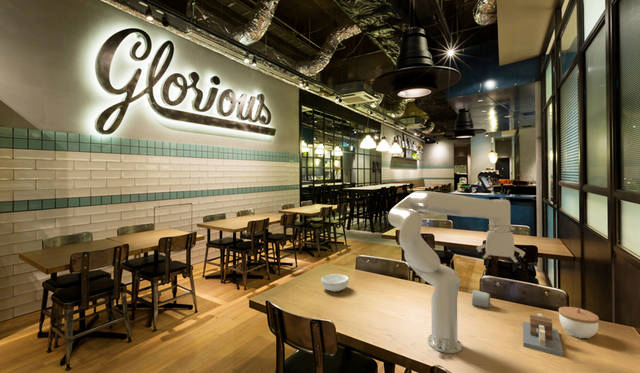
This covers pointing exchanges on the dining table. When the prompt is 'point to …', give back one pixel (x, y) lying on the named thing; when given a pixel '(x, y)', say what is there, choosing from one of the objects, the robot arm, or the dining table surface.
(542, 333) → the maple fin
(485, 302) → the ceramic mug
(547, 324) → the walnut slotted block
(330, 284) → the cereal bowl
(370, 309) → the dining table surface
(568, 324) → the lidded bowl
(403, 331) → the dining table surface
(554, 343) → the slate board
